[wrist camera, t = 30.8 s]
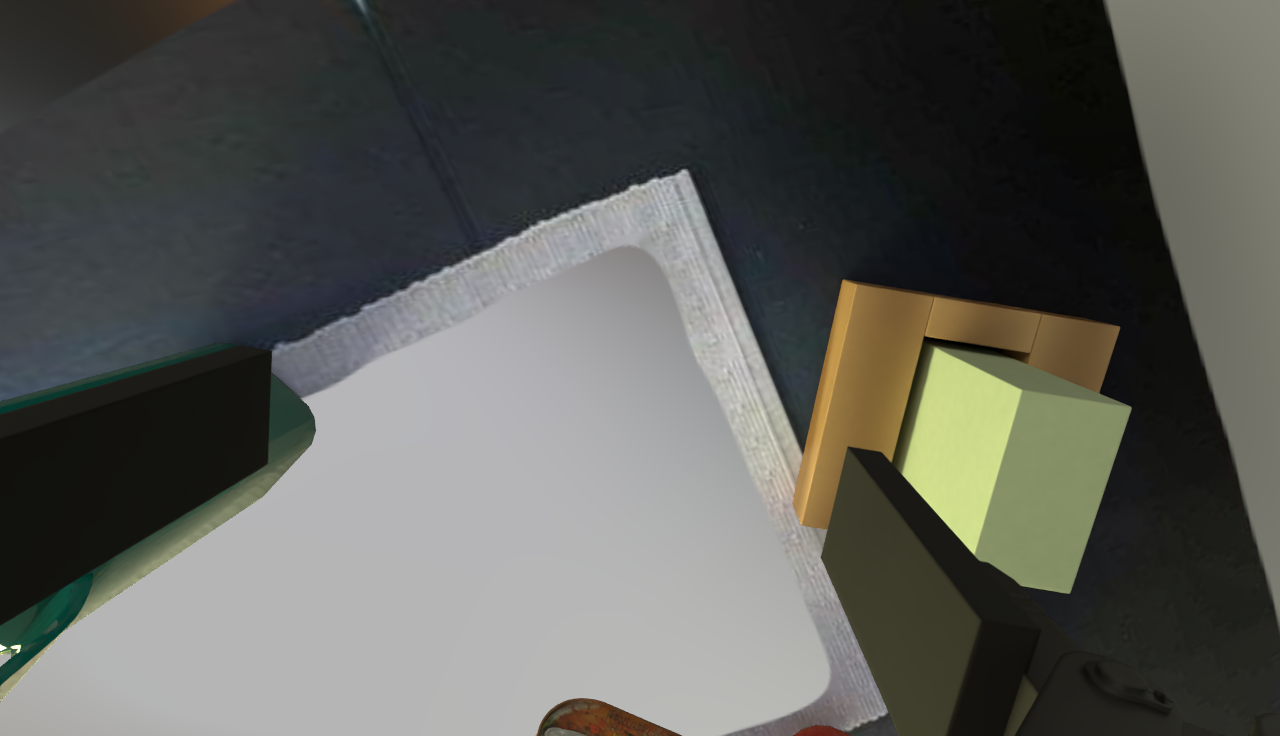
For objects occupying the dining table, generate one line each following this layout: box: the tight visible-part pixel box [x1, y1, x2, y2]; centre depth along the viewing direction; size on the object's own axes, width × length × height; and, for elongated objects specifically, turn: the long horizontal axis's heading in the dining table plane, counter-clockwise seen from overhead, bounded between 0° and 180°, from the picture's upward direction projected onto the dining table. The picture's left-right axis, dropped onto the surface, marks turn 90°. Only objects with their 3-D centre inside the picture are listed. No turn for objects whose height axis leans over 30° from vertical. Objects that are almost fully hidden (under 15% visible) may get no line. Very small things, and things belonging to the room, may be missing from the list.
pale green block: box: [892, 339, 1132, 594], centre depth 34 cm, size 4×8×12 cm, turn 171°
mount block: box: [792, 279, 1120, 530], centre depth 38 cm, size 14×14×3 cm
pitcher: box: [0, 343, 316, 702], centre depth 31 cm, size 10×8×22 cm
